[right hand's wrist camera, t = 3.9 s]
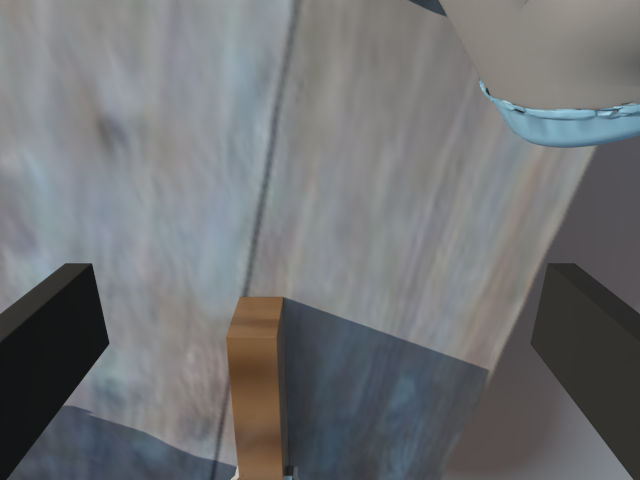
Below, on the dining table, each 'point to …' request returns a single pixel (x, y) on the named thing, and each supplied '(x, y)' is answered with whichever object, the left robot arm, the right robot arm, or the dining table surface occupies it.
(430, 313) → the dining table surface
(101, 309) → the right robot arm
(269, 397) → the bar
